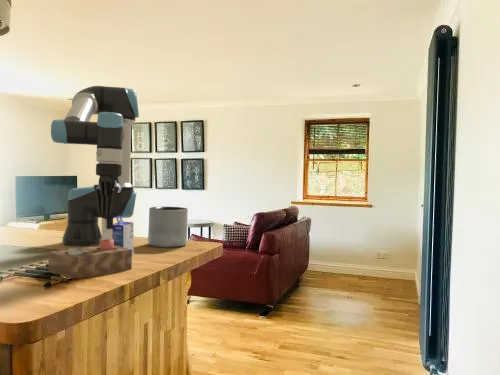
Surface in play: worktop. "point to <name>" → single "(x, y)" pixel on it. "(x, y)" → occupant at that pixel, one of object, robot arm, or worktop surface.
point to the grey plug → (75, 251)
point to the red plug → (107, 244)
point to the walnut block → (90, 261)
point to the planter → (167, 226)
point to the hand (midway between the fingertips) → (107, 239)
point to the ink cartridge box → (123, 234)
